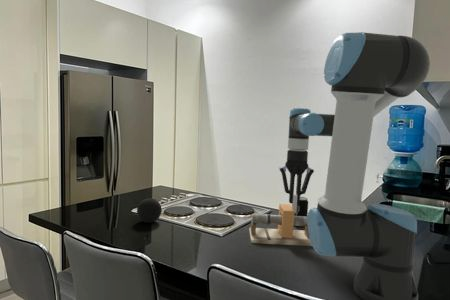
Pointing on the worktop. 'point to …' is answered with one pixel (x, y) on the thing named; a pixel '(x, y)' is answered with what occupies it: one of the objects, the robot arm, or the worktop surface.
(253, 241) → the pipe board
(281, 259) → the worktop surface
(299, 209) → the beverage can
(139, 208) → the speaker
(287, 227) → the collar
